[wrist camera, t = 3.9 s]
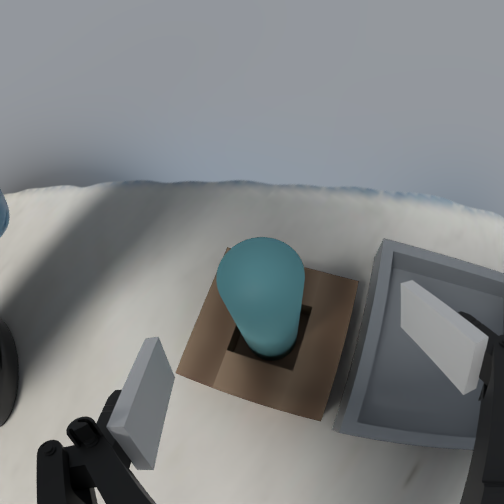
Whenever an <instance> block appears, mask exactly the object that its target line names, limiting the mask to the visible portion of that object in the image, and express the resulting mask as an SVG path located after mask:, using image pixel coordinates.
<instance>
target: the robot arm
mask: <svg viewBox="0 0 504 504" xmlns="http://www.w3.org/2000/svg"><path fill="white" fill-rule="evenodd" d="M8 224H9V208H8V205H7V202H6V200H5V197H4V195H3V193H2V192H1V189H0V237H1V236H2V235H3V233H4V232H5V230H6V229H7V226H8ZM401 328H402V329H403V330H404V331H405V332H406V333H407V334H408V335H409V336H410V337H411V338H412V339H413V340H414V341H415V342H416V343H417V344H418V346H419V347H420V348H421V349H422V350H423V351H424V352H425V353H426V354H427V355H428V356H429V357H430V358H431V360H432V361H433V362H434V363H435V364H436V365H437V366H438V367H439V368H440V369H441V371H442V372H443V373H444V374H445V375H446V376H447V377H448V378H449V379H450V381H451V382H452V383H453V384H454V385H455V386H456V387H457V388H458V390H459V391H460V392H461V393H462V394H463V395H465V394H467V393H468V392H470V391H472V390H474V389H476V387H477V384H478V380H479V378H480V379H481V380H482V381H483V382H484V384H483V387H482V390H481V393H480V397H479V400H478V401H480V400H481V404H480V413H479V420H478V427H477V433H476V439H475V445H474V450H473V455H472V460H471V464H470V468H469V473H468V477H467V481H466V484H465V488H464V492H463V495H462V499H461V502H460V504H504V335H500V336H498V335H497V334H496V333H494V332H493V331H492V330H490V329H489V328H488V327H486V326H485V325H484V324H482V323H481V322H480V321H478V320H476V318H474V317H473V316H472V315H470V314H468V313H465V312H462V311H460V312H458V313H457V312H456V311H454V310H453V309H452V308H450V307H449V306H448V305H446V304H445V303H444V302H442V301H441V300H439V299H438V298H437V297H435V296H434V295H433V294H431V293H430V292H428V291H427V290H426V289H424V288H423V287H421V286H420V285H419V284H417V283H416V282H414V281H413V280H410V281H407V282H404V283H401ZM174 379H175V377H174V374H173V372H172V370H171V367H170V365H169V362H168V360H167V357H166V355H165V352H164V350H163V347H162V345H161V342H160V339H159V337H154V338H147V339H145V341H144V343H143V345H142V347H141V349H140V351H139V354H138V356H137V358H136V360H135V362H134V364H133V367H132V369H131V371H130V373H129V375H128V378H127V380H126V382H125V384H124V387H123V389H122V390H115V391H114V392H113V393H112V394H111V395H110V396H109V397H108V399H107V402H106V404H105V406H104V408H103V410H102V412H101V414H100V417H99V419H98V421H97V423H95V421H94V420H93V419H92V418H90V417H80V418H77V419H75V420H74V421H72V422H71V423H70V424H69V426H68V428H67V430H66V431H67V435H68V437H69V438H70V439H71V441H72V442H73V443H74V445H73V446H68V447H63V446H62V444H61V443H60V442H59V441H57V440H49V441H47V442H45V443H43V444H42V445H41V446H40V447H39V449H38V452H37V504H98V503H97V499H96V494H95V489H94V487H97V489H98V490H99V492H100V494H101V496H102V498H103V499H104V501H105V503H106V504H156V503H155V502H154V500H153V499H152V498H151V497H150V495H149V494H148V493H147V492H146V490H145V489H144V488H143V487H142V485H141V484H140V483H139V481H138V480H137V479H136V477H135V476H134V474H133V473H132V472H131V471H130V469H129V468H130V464H131V462H132V464H133V465H134V466H135V467H136V469H137V470H154V465H155V461H156V456H157V451H158V447H159V442H160V438H161V433H162V429H163V425H164V420H165V416H166V412H167V408H168V403H169V399H170V395H171V391H172V387H173V383H174ZM17 384H18V361H17V353H16V348H15V344H14V340H13V337H12V335H11V333H10V330H9V329H8V327H7V326H6V324H5V323H4V322H3V321H2V320H1V319H0V426H1V425H2V424H3V423H4V422H5V421H6V420H7V418H8V416H9V415H10V412H11V410H12V408H13V405H14V401H15V397H16V392H17Z"/></svg>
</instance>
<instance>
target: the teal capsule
mask: <svg viewBox="0 0 504 504" xmlns="http://www.w3.org/2000/svg"><path fill="white" fill-rule="evenodd" d="M304 281H305V272H304V267H303V264H302V261H301V259H300V257H299V256H298V254H297V253H296V252H295V251H294V250H293V249H292V248H291V247H290V246H289V245H287V244H285V243H284V242H282V241H279V240H276V239H273V238H267V237H257V238H251V239H248V240H245V241H242V242H240V243H238V244H237V245H235V246H234V247H232V248H231V249H230V250H229V251H228V252H227V253H226V254H225V256H224V257H223V258H222V260H221V262H220V264H219V267H218V270H217V277H216V282H217V288H218V291H219V294H220V296H221V298H222V300H223V302H224V303H225V305H226V307H227V309H228V311H229V312H230V314H231V316H232V318H233V320H234V321H235V323H236V325H237V327H238V328H239V330H240V332H241V334H242V336H243V337H244V339H245V341H246V343H247V344H248V346H249V348H250V349H251V351H252V352H253V353H254V354H255V355H256V356H257V357H259V358H261V359H263V360H268V361H275V360H279V359H282V358H284V357H286V356H287V355H288V354H289V353H290V352H291V351H292V350H293V348H294V346H295V344H296V339H297V333H298V326H299V319H300V312H301V304H302V297H303V289H304Z"/></svg>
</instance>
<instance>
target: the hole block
mask: <svg viewBox="0 0 504 504" xmlns="http://www.w3.org/2000/svg"><path fill="white" fill-rule="evenodd" d="M230 249H231V248H228V247H227V249H226V252H225V254H226V253H227V252H228V251H229V250H230ZM225 254H224V256H225ZM224 256H223V257H224ZM304 272H305V281H304V289H303V297H302V304H301V312H300V319H299V326H298V333H297V339H296V344H295V346H294V348H293V350H292V351H291V352H290V353H289V354H288V355H287V356H286V357H284V358H282V359H279V360H275V361H268V360H263V359H261V358H259V357H257V356H256V355H255V354H254V353H253V352H252V351H251V349H250V348H249V346H248V344H247V343H246V341H245V339H244V337H243V336H242V334H241V332H240V330H239V328H238V327H237V325H236V323H235V321H234V320H233V318H232V316H231V314H230V312H229V311H228V309H227V307H226V305H225V303H224V302H223V300H222V298H221V296H220V294H219V291H218V288H217V282H216V277H217V273H216V275H215V278H214V280H213V282H212V285H211V287H210V290H209V292H208V294H207V297H206V299H205V302H204V304H203V306H202V309H201V311H200V314H199V316H198V319H197V321H196V323H195V326H194V328H193V331H192V333H191V336H190V338H189V341H188V343H187V345H186V348H185V350H184V353H183V355H182V358H181V360H180V363H179V365H178V368H177V370H176V373H177V374H179V375H181V376H184V377H186V378H189V379H191V380H194V381H196V382H199V383H201V384H204V385H207V386H209V387H212V388H214V389H217V390H220V391H223V392H225V393H228V394H231V395H234V396H237V397H240V398H242V399H245V400H248V401H251V402H255V403H258V404H261V405H264V406H267V407H270V408H274V409H277V410H280V411H284V412H287V413H291V414H295V415H298V416H302V417H306V418H310V419H313V420H317V421H321V420H322V417H323V414H324V410H325V407H326V404H327V401H328V398H329V395H330V392H331V388H332V385H333V382H334V378H335V375H336V371H337V368H338V364H339V361H340V357H341V353H342V350H343V346H344V342H345V338H346V334H347V330H348V326H349V322H350V318H351V314H352V309H353V305H354V301H355V296H356V291H357V287H358V282H359V281H356V280H352V279H348V278H344V277H340V276H336V275H332V274H328V273H325V272H321V271H317V270H313V269H309V268H305V267H304Z"/></svg>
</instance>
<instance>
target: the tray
mask: <svg viewBox="0 0 504 504" xmlns="http://www.w3.org/2000/svg"><path fill="white" fill-rule="evenodd" d="M410 280H413V281H414V282H416V283H417V284H419V285H420V286H421V287H423V288H424V289H426V290H427V291H428V292H430V293H431V294H433V295H434V296H435V297H437V298H438V299H439V300H441V301H442V302H444V303H445V304H446V305H448V306H449V307H450V308H452V309H453V310H454V311H456V312H457V313H458V312H460V311H462V312H465V313H468V314H470V315H472V316H473V317H474V318H476V320H478V321H480V322H481V323H482V324H484V325H485V326H486V327H488V328H489V329H490V330H492V331H493V332H494V333H496V334H497V335H498V336H500V335H504V273H501V272H498V271H495V270H491V269H488V268H485V267H482V266H479V265H475V264H472V263H469V262H466V261H462V260H459V259H456V258H452V257H449V256H445V255H442V254H439V253H435V252H432V251H428V250H425V249H421V248H417V247H414V246H410V245H407V244H403V243H399V242H396V241H392V240H388V239H383V241H382V243H381V245H380V247H379V249H378V251H377V253H376V255H375V257H374V263H373V269H372V274H371V280H370V285H369V291H368V296H367V301H366V305H365V310H364V315H363V319H362V324H361V328H360V333H359V337H358V341H357V345H356V349H355V353H354V357H353V361H352V364H351V368H350V372H349V375H348V379H347V383H346V386H345V389H344V393H343V396H342V399H341V403H340V406H339V409H338V412H337V415H336V419H335V422H334V425H333V428H332V430H334V431H336V432H339V433H343V434H348V435H353V436H358V437H363V438H369V439H374V440H380V441H386V442H393V443H400V444H408V445H416V446H425V447H435V448H448V449H467V450H474V445H475V439H476V433H477V427H478V420H479V413H480V404H481V400H480V401H478V400H479V397H480V393H481V390H482V387H483V384H484V382H483V381H482V380H481V379H480V378H479V380H478V384H477V387H476V389H474V390H472V391H470V392H468V393H467V394H465V395H463V394H462V393H461V392H460V391H459V390H458V388H457V387H456V386H455V385H454V384H453V383H452V382H451V381H450V379H449V378H448V377H447V376H446V375H445V374H444V373H443V372H442V371H441V369H440V368H439V367H438V366H437V365H436V364H435V363H434V362H433V361H432V360H431V358H430V357H429V356H428V355H427V354H426V353H425V352H424V351H423V350H422V349H421V348H420V347H419V346H418V344H417V343H416V342H415V341H414V340H413V339H412V338H411V337H410V336H409V335H408V334H407V333H406V332H405V331H404V330H403V329H402V328H401V283H404V282H407V281H410Z"/></svg>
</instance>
